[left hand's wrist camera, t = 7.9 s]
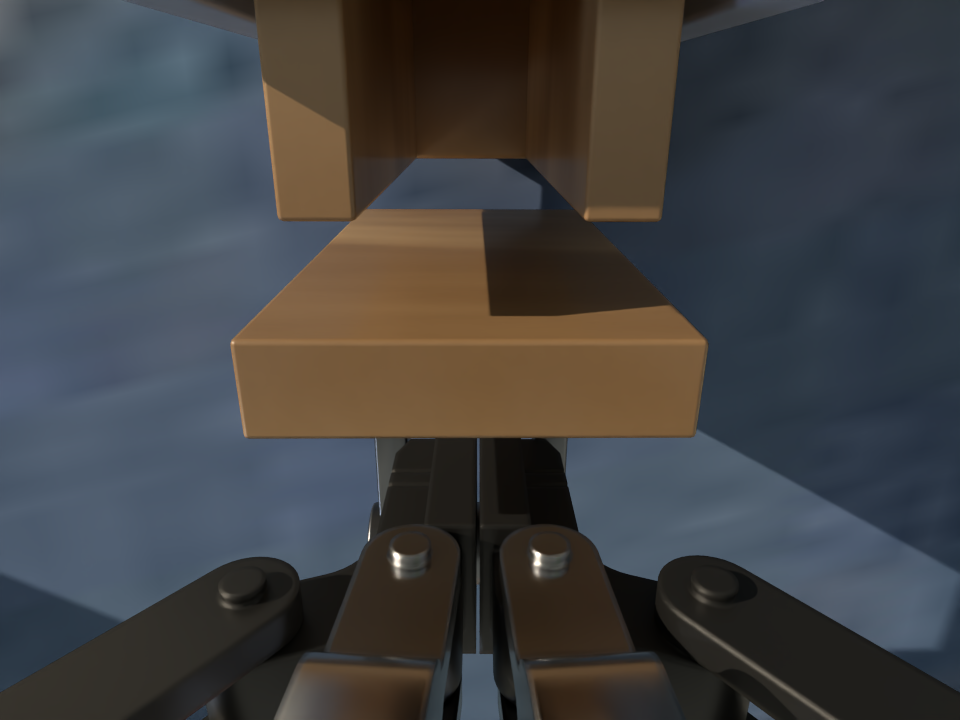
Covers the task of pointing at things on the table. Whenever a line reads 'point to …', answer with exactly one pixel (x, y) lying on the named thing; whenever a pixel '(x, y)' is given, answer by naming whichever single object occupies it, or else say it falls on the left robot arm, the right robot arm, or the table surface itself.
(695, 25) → the cabinet
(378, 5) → the drawer
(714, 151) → the table surface
